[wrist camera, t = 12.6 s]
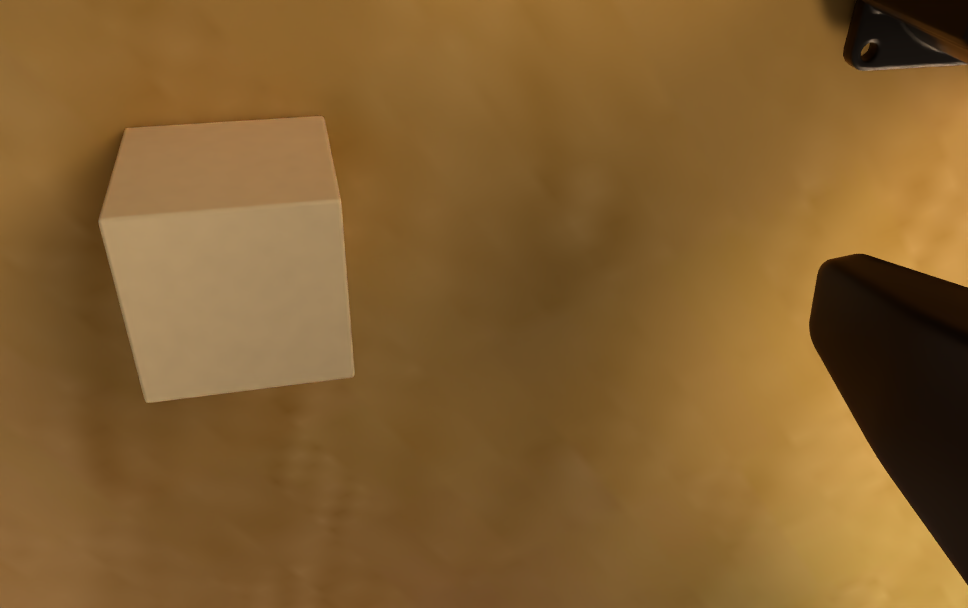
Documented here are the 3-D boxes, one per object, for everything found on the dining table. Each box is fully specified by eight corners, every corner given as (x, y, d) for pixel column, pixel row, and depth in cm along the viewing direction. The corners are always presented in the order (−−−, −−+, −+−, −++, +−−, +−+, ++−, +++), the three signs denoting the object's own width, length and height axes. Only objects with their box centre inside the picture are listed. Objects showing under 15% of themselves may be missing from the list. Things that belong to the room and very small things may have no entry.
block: (324, 114, 20) (341, 199, 17) (337, 274, 23) (355, 378, 19) (123, 126, 19) (96, 219, 16) (161, 291, 22) (144, 405, 18)
